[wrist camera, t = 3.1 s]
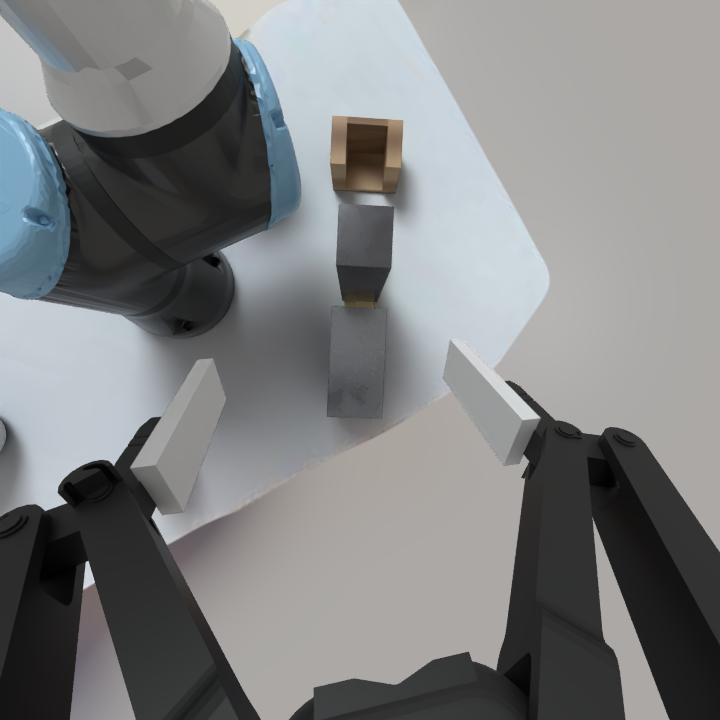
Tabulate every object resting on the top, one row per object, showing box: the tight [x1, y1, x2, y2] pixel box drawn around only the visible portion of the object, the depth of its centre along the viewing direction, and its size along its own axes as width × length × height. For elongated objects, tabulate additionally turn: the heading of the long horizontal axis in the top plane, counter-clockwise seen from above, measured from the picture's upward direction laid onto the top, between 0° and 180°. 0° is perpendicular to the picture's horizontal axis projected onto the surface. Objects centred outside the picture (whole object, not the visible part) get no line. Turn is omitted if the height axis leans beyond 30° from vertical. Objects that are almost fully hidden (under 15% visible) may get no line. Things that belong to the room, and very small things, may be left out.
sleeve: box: [327, 306, 387, 419], centre depth 38 cm, size 14×7×6 cm, turn 177°
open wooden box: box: [330, 116, 403, 193], centre depth 38 cm, size 6×9×6 cm, turn 88°
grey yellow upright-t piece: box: [336, 204, 394, 308], centre depth 32 cm, size 24×4×17 cm, turn 177°
